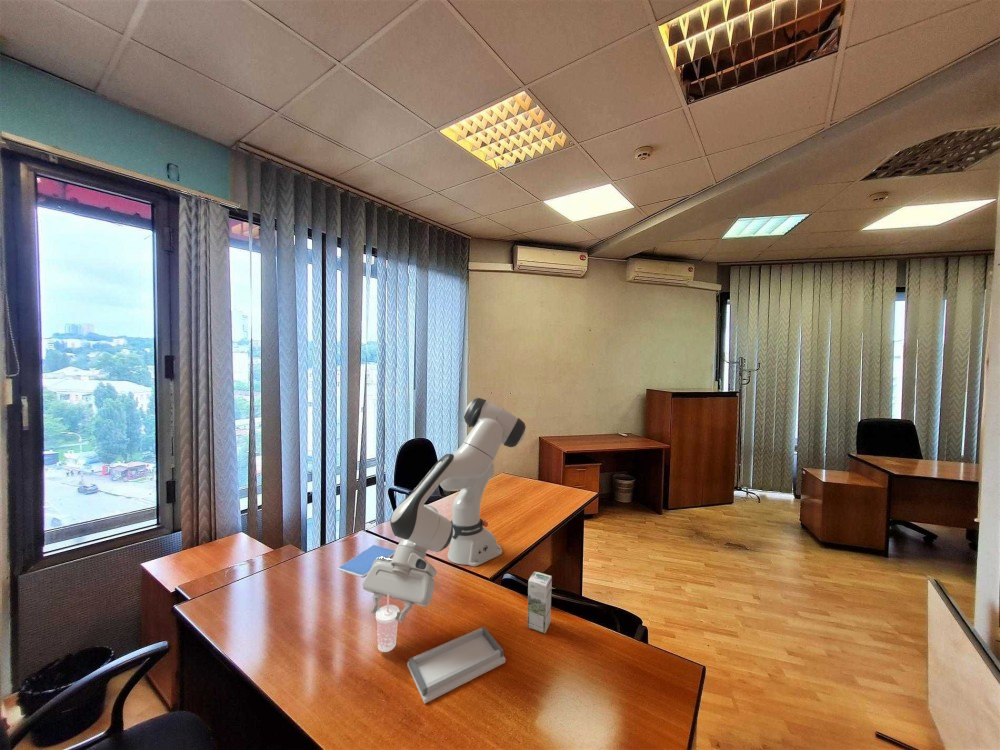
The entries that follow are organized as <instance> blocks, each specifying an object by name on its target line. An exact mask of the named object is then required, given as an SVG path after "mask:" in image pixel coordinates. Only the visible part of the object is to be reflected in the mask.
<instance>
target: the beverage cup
mask: <svg viewBox="0 0 1000 750" xmlns="http://www.w3.org/2000/svg"><path fill="white" fill-rule="evenodd" d="M398 612H400V613H401V611H400V608H399V606H397V605H396V604H390V597H389V593H388V594H387V597H386V604H385V605H383V606H380V608H379V609H378V610H377V612H376V615H375V620H376V631H377V649H378V651H379V652H382V653H388V652H390V651H392V650H394V649H395V647H396V645H397V635H398V634H397V633H398V622H399V621H397V620H395V618H396V616H397V613H398Z"/></svg>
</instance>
